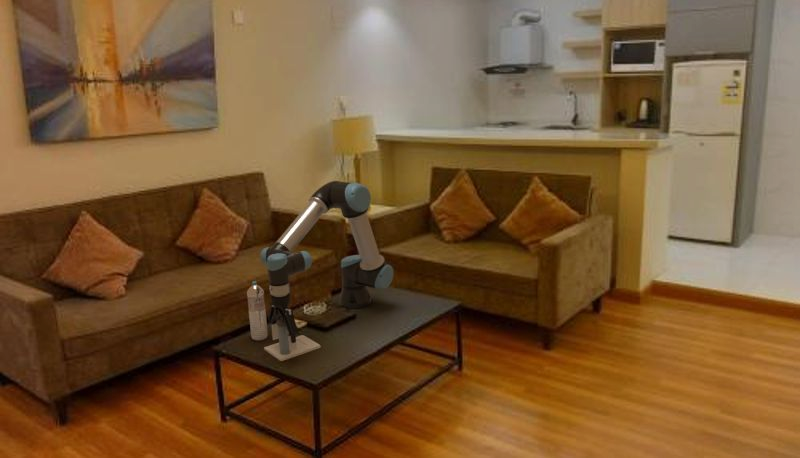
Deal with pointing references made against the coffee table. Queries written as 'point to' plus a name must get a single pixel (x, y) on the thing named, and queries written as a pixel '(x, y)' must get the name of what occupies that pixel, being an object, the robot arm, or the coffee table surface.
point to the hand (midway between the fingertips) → (284, 344)
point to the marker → (283, 337)
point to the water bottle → (257, 312)
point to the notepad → (302, 347)
